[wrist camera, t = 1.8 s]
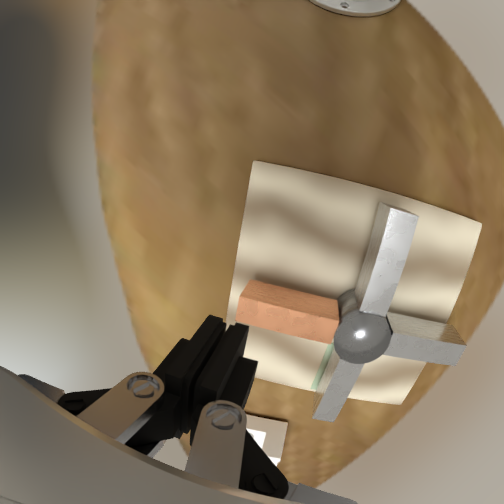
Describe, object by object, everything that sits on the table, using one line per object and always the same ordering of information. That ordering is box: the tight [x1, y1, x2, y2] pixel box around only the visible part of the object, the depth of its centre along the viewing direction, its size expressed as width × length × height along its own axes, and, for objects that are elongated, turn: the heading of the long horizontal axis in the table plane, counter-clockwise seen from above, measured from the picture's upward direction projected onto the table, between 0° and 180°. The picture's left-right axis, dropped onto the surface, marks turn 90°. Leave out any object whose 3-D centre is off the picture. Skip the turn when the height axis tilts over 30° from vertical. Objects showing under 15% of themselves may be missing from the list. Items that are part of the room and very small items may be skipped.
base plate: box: [226, 160, 482, 405], centre depth 29 cm, size 24×24×2 cm
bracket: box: [246, 414, 288, 466], centre depth 35 cm, size 13×7×8 cm, turn 84°
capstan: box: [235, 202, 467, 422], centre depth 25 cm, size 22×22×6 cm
